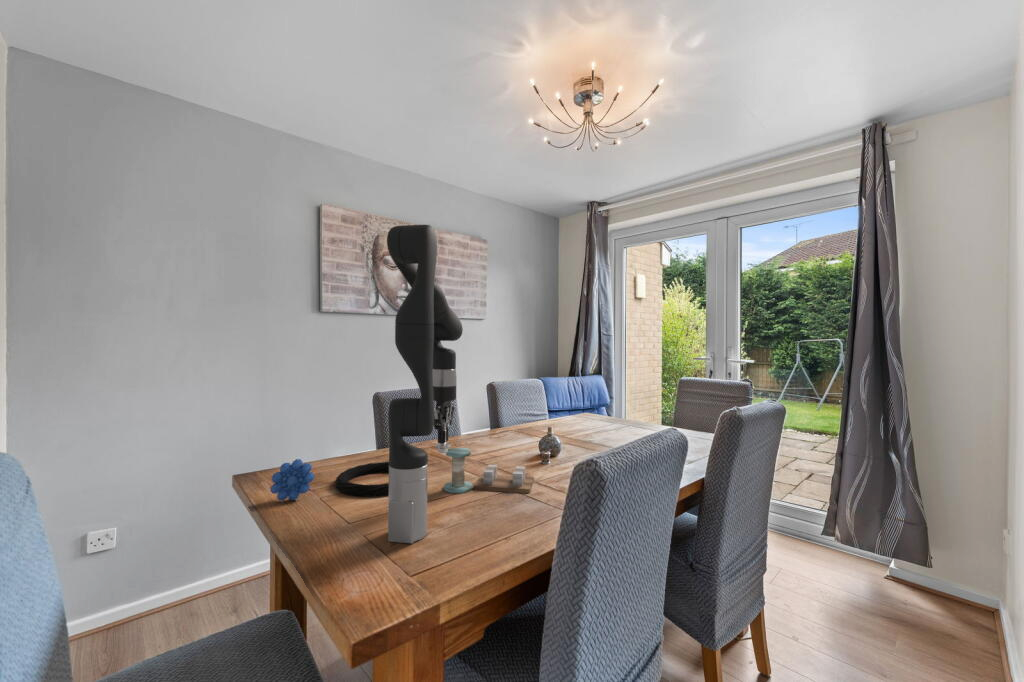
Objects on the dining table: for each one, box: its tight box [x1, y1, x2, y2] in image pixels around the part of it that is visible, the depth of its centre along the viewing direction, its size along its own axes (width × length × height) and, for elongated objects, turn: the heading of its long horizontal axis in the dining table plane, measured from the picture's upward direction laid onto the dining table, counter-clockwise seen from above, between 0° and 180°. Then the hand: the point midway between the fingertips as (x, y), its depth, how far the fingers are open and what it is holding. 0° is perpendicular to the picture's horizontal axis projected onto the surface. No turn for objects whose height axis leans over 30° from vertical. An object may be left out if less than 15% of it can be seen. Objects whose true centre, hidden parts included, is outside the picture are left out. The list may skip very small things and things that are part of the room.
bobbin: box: [443, 447, 473, 494], centre depth 141 cm, size 9×9×12 cm
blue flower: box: [270, 458, 315, 501], centre depth 130 cm, size 12×7×12 cm, turn 108°
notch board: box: [472, 464, 535, 494], centre depth 144 cm, size 12×18×5 cm, turn 81°
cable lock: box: [334, 461, 389, 498], centre depth 147 cm, size 28×4×30 cm
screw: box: [434, 419, 452, 454], centre depth 132 cm, size 13×5×5 cm
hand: (443, 441), depth 132 cm, fingers closed on screw, 2 cm apart
